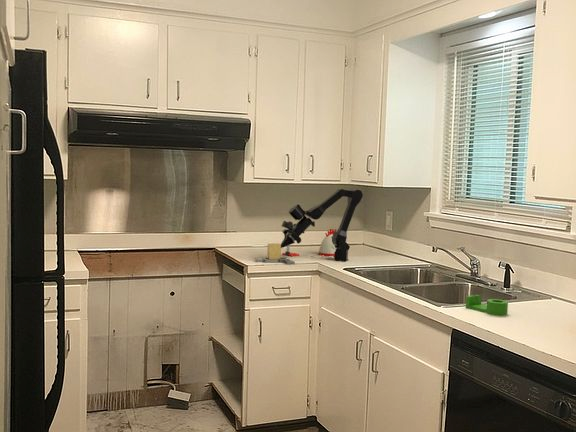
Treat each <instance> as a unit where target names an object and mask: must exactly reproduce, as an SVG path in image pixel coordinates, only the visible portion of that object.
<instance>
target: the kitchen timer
mask: <svg viewBox="0 0 576 432" xmlns="http://www.w3.org/2000/svg"><path fill="white" fill-rule="evenodd" d="M334 231H337V229H336V228H335V230H334V228H329V230H327V232H325V237H324V238H323V240H322V241H321V243H320V246H319V248H318V249H319V250H318V255H319V254H320V255H319V256H321V255H324V256H323V257H329V256H334V253H335V251H336V249H337V248H335V245H334V244H333V243H332V238H331V237H332V236H333V232H334Z"/></svg>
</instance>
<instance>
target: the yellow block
mask: <svg viewBox="0 0 576 432" xmlns="http://www.w3.org/2000/svg"><path fill="white" fill-rule="evenodd" d="M281 250H282V248H281V243H267V255H266V256H267V259H277V260H278V263H280V262H279V259H280V257H282V256H281V255H282V253H281V252H282V251H281Z"/></svg>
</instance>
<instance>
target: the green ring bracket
mask: <svg viewBox="0 0 576 432" xmlns="http://www.w3.org/2000/svg"><path fill="white" fill-rule="evenodd" d="M465 308H467V309H470V310H474V311H478V312H481V313H486V314H488V315H492V316H499V317H501V316H507V315H508V308H509V302H508V300H503V299H497V298H489V299H487V300H486V304H485V303H482V295H479V294H474V295H467V296H466V297H465Z"/></svg>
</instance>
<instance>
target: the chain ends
mask: <svg viewBox="0 0 576 432" xmlns="http://www.w3.org/2000/svg"><path fill="white" fill-rule="evenodd" d="M254 260H255V262H256V263H265V264H269V263H271V264H272V263H273V264H274V263H276V264H277V263H285V264H286V265H295V264H296V261H294V260H292V259H289V258H287V256H281V257H280V259H279V262H278V260H277V259H267V257H265V256H264V257H261V258H255V259H254Z"/></svg>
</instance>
